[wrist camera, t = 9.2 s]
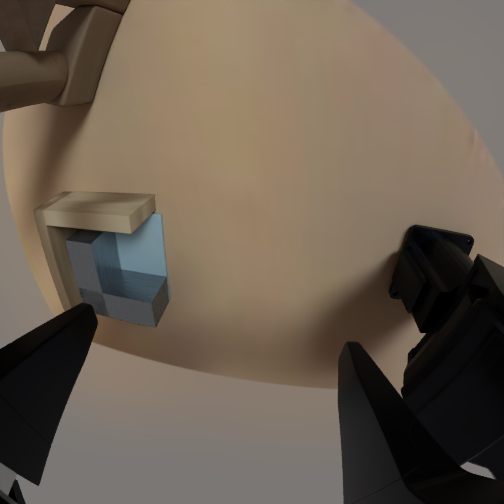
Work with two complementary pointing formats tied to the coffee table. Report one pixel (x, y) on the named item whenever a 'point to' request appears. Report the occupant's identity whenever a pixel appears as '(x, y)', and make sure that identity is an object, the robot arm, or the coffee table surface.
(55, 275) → the corner walls
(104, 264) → the bracket
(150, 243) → the pad
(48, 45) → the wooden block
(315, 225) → the coffee table surface
